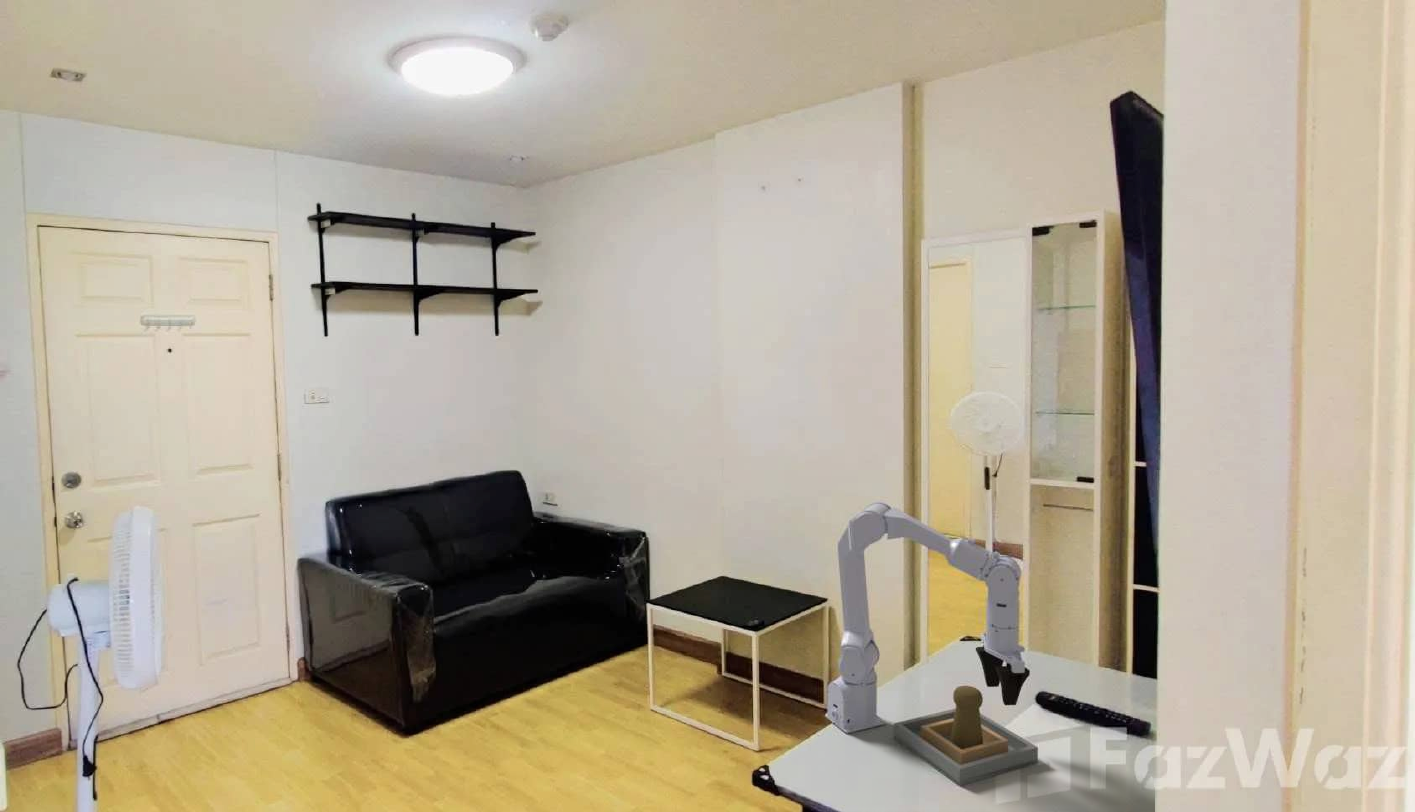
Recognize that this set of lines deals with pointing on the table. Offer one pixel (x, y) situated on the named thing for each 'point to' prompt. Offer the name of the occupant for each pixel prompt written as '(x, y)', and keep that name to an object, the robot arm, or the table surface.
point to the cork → (967, 718)
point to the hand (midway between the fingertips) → (1000, 695)
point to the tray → (971, 763)
